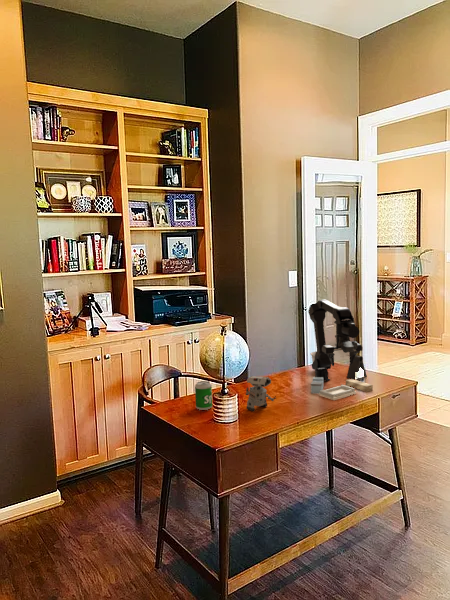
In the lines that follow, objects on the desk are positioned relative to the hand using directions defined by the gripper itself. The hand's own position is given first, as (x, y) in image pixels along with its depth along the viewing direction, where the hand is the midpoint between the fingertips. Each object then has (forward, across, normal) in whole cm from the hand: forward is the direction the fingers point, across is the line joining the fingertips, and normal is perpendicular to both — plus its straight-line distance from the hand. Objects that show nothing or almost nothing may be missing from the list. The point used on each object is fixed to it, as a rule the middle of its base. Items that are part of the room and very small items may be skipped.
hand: (342, 365), depth 239 cm
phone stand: (+14, +17, +20) cm, 30 cm away
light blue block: (+13, -10, +6) cm, 18 cm away
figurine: (+13, -45, -13) cm, 48 cm away
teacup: (+14, +5, +36) cm, 39 cm away
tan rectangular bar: (+13, +10, +3) cm, 17 cm away
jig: (+13, -4, -4) cm, 14 cm away
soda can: (+13, -69, -4) cm, 70 cm away
